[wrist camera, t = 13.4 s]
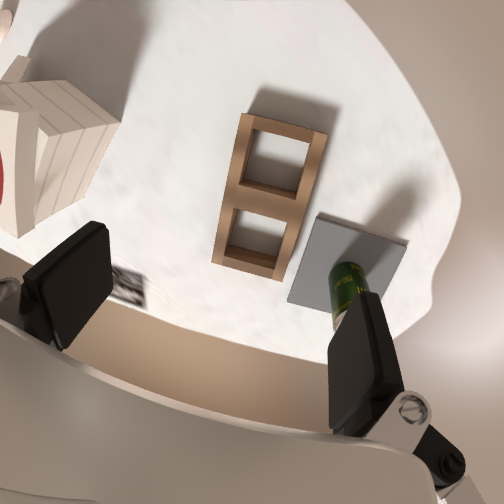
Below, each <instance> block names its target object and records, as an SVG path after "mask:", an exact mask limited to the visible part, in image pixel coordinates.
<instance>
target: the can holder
mask: <svg viewBox="0 0 504 504" xmlns="http://www.w3.org/2000/svg"><path fill="white" fill-rule="evenodd" d="M255 129H256V130H261V131H265V132H269V133H273V134H277V135H281V136H285V137H289V138H292V139H296V140H300V141H303V142H307V143H310V145H309V148H308V152H307V155H306V159H305V163H304V166H303V170H302V173H301V177H300V180H299V184H298V187H297V191H296V192H293V191H289V190H286V189H282V188H279V187H275V186H271V185H267V184H264V183H260V182H256V181H252V180H248V179H244V176H245V171H246V167H247V163H248V158H249V154H250V150H251V145H252V141H253V137H254V132H255ZM327 136H328V135H326V134H325V133H322V132H318V131H315V130H312V129H308V128H305V127H301V126H297V125H294V124H290V123H286V122H282V121H278V120H274V119H270V118H266V117H261V116H257V115H253V114H248V113H241V117H240V121H239V126H238V130H237V135H236V139H235V144H234V149H233V153H232V158H231V163H230V167H229V172H228V177H227V182H226V187H225V192H224V197H223V202H222V207H221V212H220V217H219V223H218V228H217V233H216V239H215V244H214V250H213V255H212V261H211V262H212V263H216V264H219V265H223V266H226V267H230V268H233V269H237V270H240V271H244V272H248V273H251V274H255V275H258V276H262V277H266V278H269V279H273V280H276V281H280V282H282V281H283V278H284V275H285V272H286V269H287V266H288V263H289V260H290V257H291V254H292V251H293V248H294V245H295V242H296V239H297V236H298V232H299V229H300V226H301V223H302V220H303V217H304V214H305V210H306V207H307V204H308V201H309V197H310V194H311V191H312V188H313V184H314V181H315V178H316V174H317V171H318V168H319V164H320V161H321V157H322V154H323V150H324V147H325V143H326V140H327ZM237 209H241V210H244V211H248V212H252V213H256V214H259V215H263V216H267V217H270V218H274V219H278V220H281V221H285V222H287V225H286V228H285V231H284V235H283V238H282V241H281V245H280V248H279V251H278V254H277V258H276V257H272V256H269V255H265V254H262V253H258V252H254V251H251V250H247V249H243V248H240V247H236V246H233V245H229V244H230V240H231V235H232V230H233V226H234V221H235V216H236V212H237Z"/></svg>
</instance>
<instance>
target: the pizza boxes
mask: <svg viewBox="0 0 504 504" xmlns="http://www.w3.org/2000/svg"><path fill="white" fill-rule="evenodd" d="M31 59H32V58H28V57H24V56H20V55H18V56H17V57H16V58H15V60H14V61H13V63H12V64H11V65H10V67H9V68H8V70H7V71H6V73H5V74H4V75H3V77H2V78H1V80H0V228H2V229H3V230H5V231H6V232H8V233H9V234H11V235H13V236H14V237H16V238H17V239H18V238H20V237H21V236H23V235H24V234H26V233H27V232H29V231H31V230H32V229H34V228H35V225H36V224H38V223H39V222H41V221H43V220H44V219H46V218H48V217H50V216H51V215H53V214H55V213H56V212H58V211H60V210H62V209H63V208H65V207H67V206H69V205H71V204H73V203H74V202H76V201H78V200H80V199H82V198H84V197H85V194H86V192H87V190H88V187H89V185H90V183H91V181H92V178H93V176H94V174H95V172H96V170H97V168H98V166H99V164H100V162H101V159H102V157H103V155H104V153H105V152H106V150H107V148H108V146H109V144H110V142H111V140H112V138H113V136H114V134H115V133H116V131H117V129H118V127H119V125H120V124H121V122H120V121H119V120H117V119H116V118H115V117H113V116H112V115H111V114H110V113H108V112H107V111H106V110H104V109H103V108H102V107H101V106H99V105H98V104H97V103H95V102H94V101H93V100H92V99H90V98H89V97H88V96H86V95H85V94H84V93H82V92H81V91H80V90H78V89H77V88H76V87H75V86H73V85H72V84H71V83H69V82H68V81H67V80H51V81H33V82H22V80H23V77H24V75H25V72H26V70H27V68H28V65H29V63H30V61H31Z"/></svg>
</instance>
